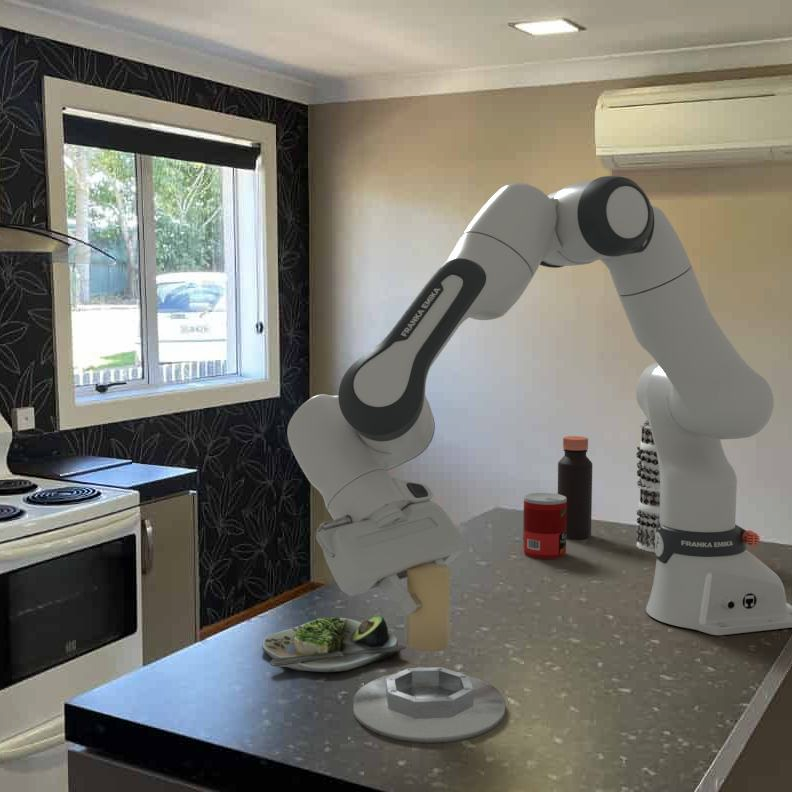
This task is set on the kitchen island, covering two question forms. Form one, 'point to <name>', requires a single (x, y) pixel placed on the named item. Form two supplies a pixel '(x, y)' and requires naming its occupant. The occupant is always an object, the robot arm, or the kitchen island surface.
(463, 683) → the collar
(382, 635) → the salad plate
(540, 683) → the kitchen island surface
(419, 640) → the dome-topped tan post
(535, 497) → the canned food
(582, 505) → the bottle
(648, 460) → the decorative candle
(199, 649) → the kitchen island surface
